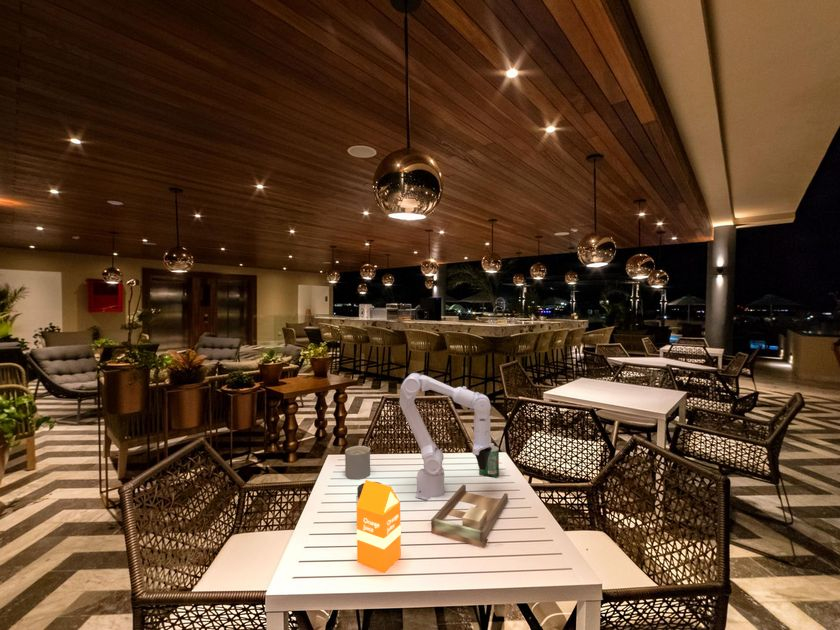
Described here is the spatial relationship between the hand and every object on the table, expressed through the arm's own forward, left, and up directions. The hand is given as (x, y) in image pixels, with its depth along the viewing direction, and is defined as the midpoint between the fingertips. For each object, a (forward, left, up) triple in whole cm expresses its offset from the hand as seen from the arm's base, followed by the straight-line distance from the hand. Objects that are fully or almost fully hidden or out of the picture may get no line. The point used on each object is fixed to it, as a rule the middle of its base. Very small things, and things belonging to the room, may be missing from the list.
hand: (482, 468), depth 131 cm
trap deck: (+1, -14, -10) cm, 17 cm away
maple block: (+4, -21, -9) cm, 23 cm away
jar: (-25, -32, -11) cm, 42 cm away
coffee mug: (-52, -1, -11) cm, 53 cm away
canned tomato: (-4, +20, -11) cm, 23 cm away
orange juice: (-14, -44, -11) cm, 47 cm away
